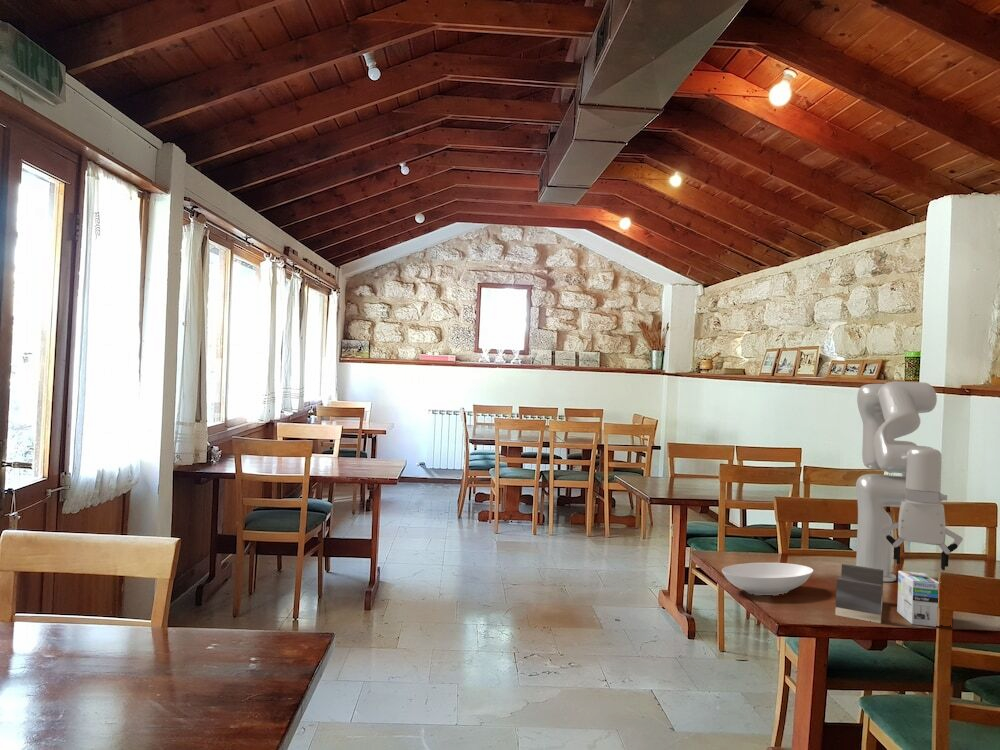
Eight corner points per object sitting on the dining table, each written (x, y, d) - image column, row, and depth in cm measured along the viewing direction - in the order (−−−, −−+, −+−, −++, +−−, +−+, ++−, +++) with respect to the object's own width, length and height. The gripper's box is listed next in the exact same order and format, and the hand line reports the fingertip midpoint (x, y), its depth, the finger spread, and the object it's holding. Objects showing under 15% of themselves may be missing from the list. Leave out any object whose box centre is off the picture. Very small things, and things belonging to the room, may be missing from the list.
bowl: (745, 604, 181) (746, 580, 181) (705, 588, 194) (706, 566, 195) (828, 595, 193) (829, 573, 193) (786, 581, 207) (787, 560, 207)
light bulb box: (941, 628, 169) (943, 583, 169) (911, 625, 170) (912, 580, 171) (924, 614, 179) (925, 572, 180) (895, 611, 181) (897, 569, 181)
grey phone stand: (840, 596, 193) (842, 563, 193) (882, 603, 188) (883, 569, 188) (835, 615, 175) (836, 579, 175) (880, 623, 170) (882, 586, 170)
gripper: (962, 499, 175) (960, 568, 174) (883, 492, 183) (881, 557, 183) (965, 503, 168) (962, 574, 168) (883, 494, 177) (880, 563, 176)
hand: (920, 565), depth 175 cm, fingers open, 9 cm apart
